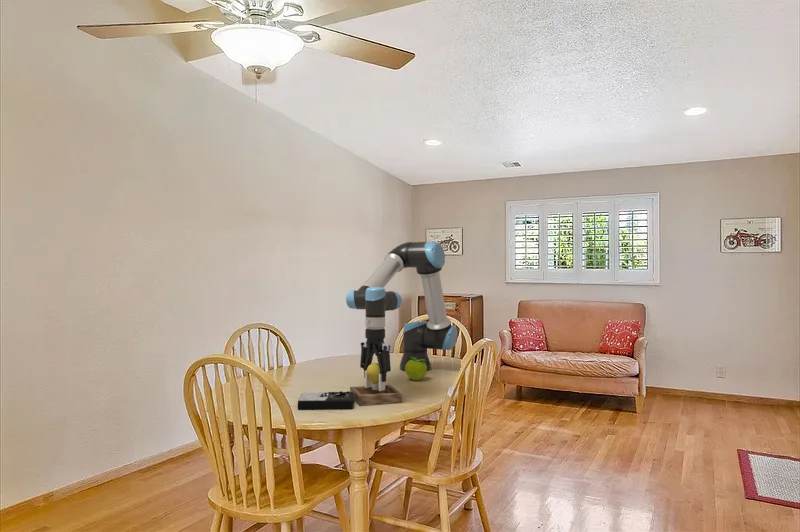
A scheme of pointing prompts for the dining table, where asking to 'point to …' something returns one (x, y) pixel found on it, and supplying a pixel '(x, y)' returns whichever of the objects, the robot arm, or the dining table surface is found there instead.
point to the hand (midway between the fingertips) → (375, 388)
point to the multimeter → (326, 401)
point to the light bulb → (374, 375)
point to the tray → (376, 395)
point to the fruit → (416, 368)
